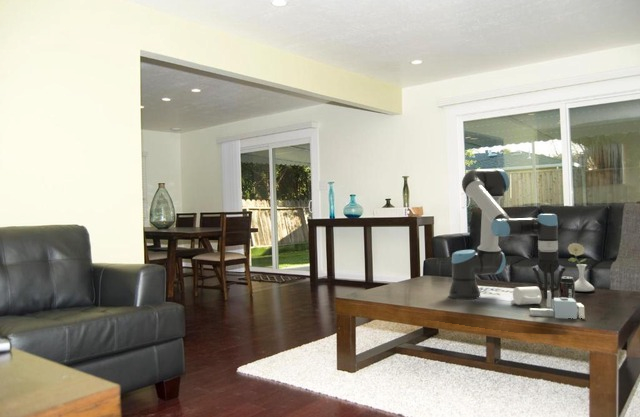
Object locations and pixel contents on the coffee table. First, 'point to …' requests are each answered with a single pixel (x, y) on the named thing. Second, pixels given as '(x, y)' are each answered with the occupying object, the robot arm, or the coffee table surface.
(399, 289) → the coffee table surface
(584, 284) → the flower in vase
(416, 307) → the coffee table surface
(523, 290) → the mug
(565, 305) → the block
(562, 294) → the beverage can
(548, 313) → the rail
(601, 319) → the coffee table surface
